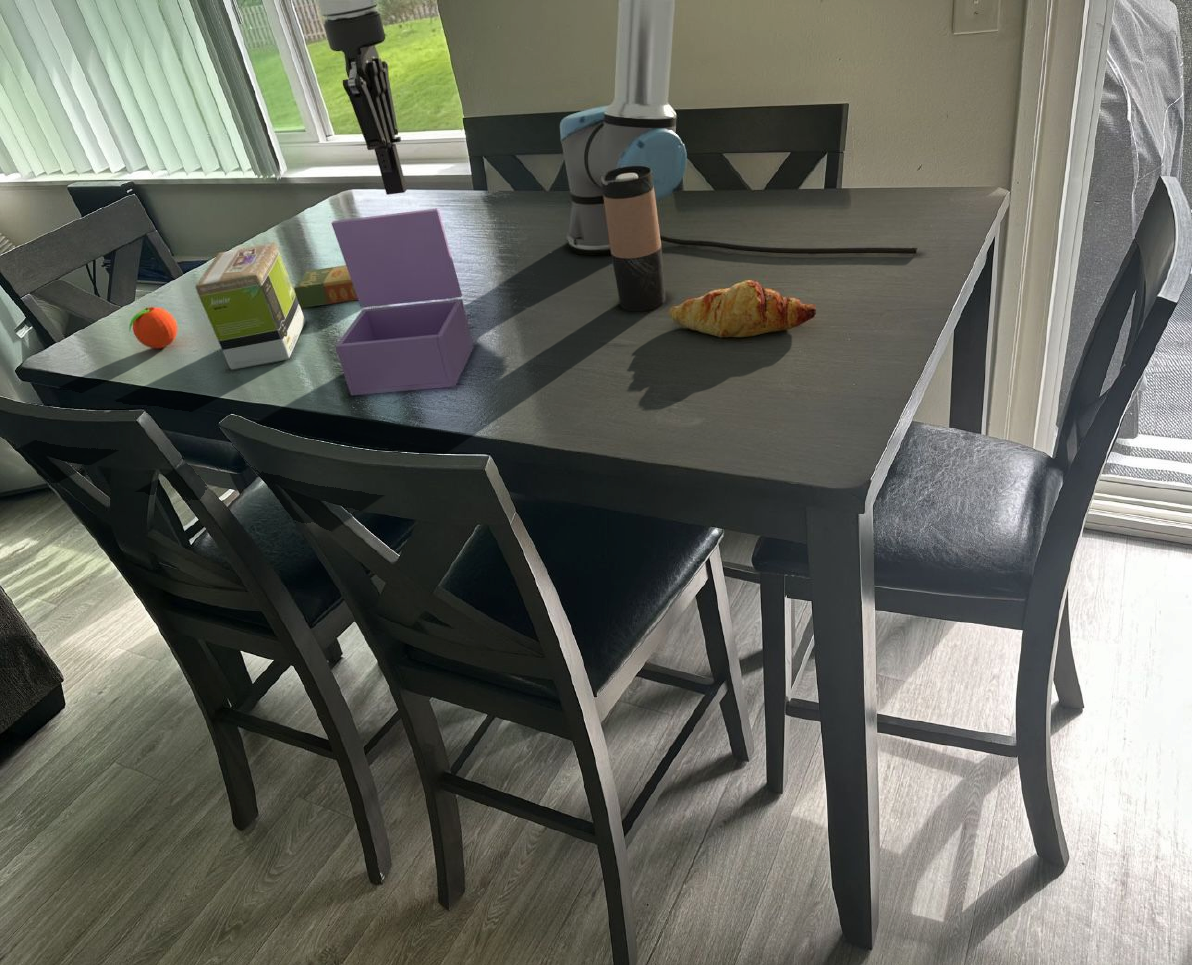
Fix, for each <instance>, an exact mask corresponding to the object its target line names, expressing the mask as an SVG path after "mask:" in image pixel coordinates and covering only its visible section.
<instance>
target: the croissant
mask: <svg viewBox="0 0 1192 965" xmlns="http://www.w3.org/2000/svg"><path fill="white" fill-rule="evenodd" d="M816 307H817V306H816V304H814V303H802V301H801V300H800V299H798V298H794V297H785V296H782V295H781V294H780V293H779V292H778V291H777V290H774V288H766V287H763V285H762V284H760V282H758V281H757V280H749V279H745V280H743V281H741V282H738V283H735V284H734V285H732V286H731V287H728V288H726V287H725V288H718V289H714V290H711V291H710V292H708V293H705V294H704V295H702V296H700V297H695V298H689V299H687V300H685V301H684V302H682V303H681V304H679V305H674V306H671V308H670V309H669V317H670V319H671V320H672V321H673V322H675V323H677V324H678V325H681V326H684V327H685V328H687V329H689V330H692V331H697V332H700V333H703V334H707V335H711V336H715V337H718V338H724V337H725V338H731V337H732V338H746V337H755V336H758V335H764V334H766V333H771V332H781V331H785V330H790V329H793V328H797V327H799V326H802V324H805V323H806V322H808V321H810V320H812V319H814V318H815V316H816V315H817V308H816Z"/></svg>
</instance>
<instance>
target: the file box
mask: <svg viewBox="0 0 1192 965" xmlns="http://www.w3.org/2000/svg"><path fill="white" fill-rule="evenodd" d="M474 348H475V346H474V342H473V338H472V334H471V330H470V326H469V321H468V318H467V313H466V309H465V304H464V301H463V299H462V298H461V299H453V300H452V299H451V300H450V299H449V300H441V301H440V300H439V301H432V302H431V301H429V302H421V303H413V304H402V305H391V306H383V307H382V306H381V307H373V308H363V309H362V310H361V311H360V313H359V314H358V315H357V316H356V317H355V319H354V320H353V322H352V323H351V324H350V326H349V327H348V328H347V330H346V331H345V332H344V334H343V335H342V336H341V337H340V339H339V340H338V342H337V343H336V344H335V345H334V349H335V351H336V355H337V357H338V360H339V363H340V364H339V365H340V366H341V369H342V372H343V375H344V378H345V381H346V384H347V388H348V390H349V393H350V396H362V395H371V394H373V395H374V394H384V393H396V392H408V391H418V390H419V391H421V390H431V389H443V388H453V387H456V386H457V384H458V382H459V379H460V378H461V376H462V373H463V371H464V369H465V367H466V365H467V362H468V360H469V358H470V357H471V354H472V352H473V349H474Z"/></svg>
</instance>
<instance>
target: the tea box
mask: <svg viewBox="0 0 1192 965" xmlns="http://www.w3.org/2000/svg"><path fill="white" fill-rule="evenodd" d="M280 252H281V251H280V250H279V247H278V245H277V242H276V241H275V242H268V243H263V244H259V245H253V246H249V247H243V248H239V249H234V250H228V251H223V252H221V251H220V252H218V253H217V254H216V256H215V258H214V259H213V261H212V262H211V263H210V265H209V266H208V267H207V269H206V270H205V272H204V273H203V274H202V275H201V278H200V279H199V281H198V282H197V284H195V286H194V287H195V290H196V292H197V296H198V298H199V301H200V302H201V304H202V306H203V309H204V311H205V313H206V316H207V320H208V321H209V323H210V325H211V328H212V330H213V332H214V335H215V337H216V339H217V342H218V344H219V346H220V348H221V351H222V354H223V356H224V358H225V360H226V362H227V364H228V367H229V369H230V370H238V369H244V368H250V367H255V366H259V365H265V364H266V365H267V364H271V363H276V362H281V361H286V360H289V359H290V358H291V356H292V353H293V351H294V349H295V346H296V344H297V341H298V339H299V337H300V335H301V332H302V331H303V328H304V326H305V324H306V319H305V316H304V313H303V311H302V308H301V307H300V305H299V303H298V300H297V297H296V294H295V291H294V287H293V284H292V282H291V279H290V277H289V273H288V271H287V268H286V266H285V263H284V261H283V258H282V255H281V253H280Z"/></svg>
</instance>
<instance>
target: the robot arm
mask: <svg viewBox="0 0 1192 965" xmlns="http://www.w3.org/2000/svg"><path fill="white" fill-rule="evenodd" d="M316 1H317V5H318V9H319V12H320V15H321V16H323V17H326V20H324V23H323V28H324V32H325V35H326V38H327V41H328V45H329V49H330V50H331V51H333V52H341V53H343V55H344V62H345V73H346V76H347V78H345V79H342V88H343V89H344V91H345V93H346V94H347V97H348V98H349V101H350V104H351V106H352V109H353V112H354V114H355V117H356V120H357V122H358V126H359V128H360V131H361V133H362V136H363V140H364V142H365V144H366V149H367V151H372V150H373V151H374V153H375V157H376V161H377V164H378V168H379V171H380V175H381V180H382V183H383V186H384V189H385V190H384V191H385V194H386V196H389V195H396V194H405V193H406V191H407V190H408V187H407V185H406V184H407V183H406V180H405V176H404V173H403V169H402V164H401V161H400V156H399V152H398V148H397V144H396V143H401V142H402V137H401V136H398V135H399V128H398V123H397V117H396V112H395V105H394V101H393V96H392V89H391V84H390V75H389V64H388V61H386V60H382V59H381V58H380V55H379V52H378V50H377V48H376V45H379V44H382V43H383V42H385V40H386V34H385V33H386V32H385V29H384V25H383V22H382V17H381V13H379V12H378V11H377V10H375V8H376V7H377V6H378V4H379V2H378V0H316ZM675 8H676V0H618V10H617V12H618V13H617V31H616V32H617V34H616V52H615V54H616V56H615V75H614V76H615V77H614V99H613V100H612V102H611V103H610V104H609V105H604V106H598V107H593V108H590V109H586V110H585V109H584V110H582V111H579V112H575V113H572V114H569V115H567V116H565V117H563V118H562V120H561V121H560V123H559V132H560V133H559V134H560V138H559V139H560V144H561V148H562V153H563V158H564V159H563V160H564V164H565V171H566V175H567V176H566V177H567V181H568V182H567V183H568V188H569V193H570V199H571V210H570V217H569V222H568V230H567V234H566V240H567V242H568V243H567V244H568V248H569V249H570V250H571V251H572V252H574V253H576V254H580V255H585V256H604V255H611V248H610V241H609V234H608V226H607V219H606V212H605V204H604V197H603V190H602V183H601V177H602V175H603V174H605V173H607V172H609V171H611V170H614V169H618V168H622V167H629V166H645V167H648V168H650V169H651V170H652V177H653V185H654V193H655V200H656V203H657V202H660V201H662V200H664V199H666V198H667V197H669V196H670V195H671V193H673V191H674V190H676V189H677V188H678V187H679V185H680V183H681V181H682V180H683V177H684V175H685V173H686V169H687V162H688V154H687V149H686V146H685V143H683V141H682V139H681V137H679V135H678V134H677V133H676V131H677V130H676V128H677V118H678V117H677V116H678V115H677V113H676V111H675V109H673V107H672V106H671V105H670V103H669V97H670V96H669V95H670V94H669V93H670V82H671V67H672V66H671V65H672V52H673V36H674V23H675V10H676V9H675ZM660 240H661V242H666V243H670V244H675V245H682V246H683V245H684V246H701V247H711V248H719V249H726V250H732V251H742V252H752V253H753V252H754V253H767V254H789V255H791V254H792V255H793V254H795V255H796V254H797V255H823V254H824V255H826V254H827V255H835V254H836V255H839V254H840V255H841V254H905V255H906V254H907V255H915V254H917V253H918V247H894V246H893V247H879V246H876V247H874V246H871V247H870V246H869V247H868V246H867V247H865V246H861V247H860V246H859V247H774V246H773V247H772V246H756V245H744V244H735V243H727V242H719V241H714V240H713V241H712V240H700V239H684V238H676V237H671V236H667V235H663V234H660Z"/></svg>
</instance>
